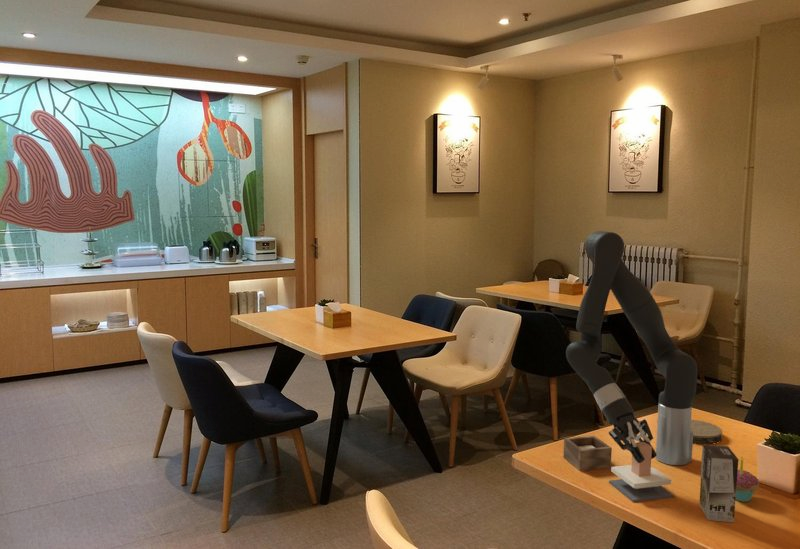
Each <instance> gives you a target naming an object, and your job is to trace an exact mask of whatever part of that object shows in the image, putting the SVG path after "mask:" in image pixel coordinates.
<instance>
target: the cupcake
mask: <svg viewBox="0 0 800 549" xmlns="http://www.w3.org/2000/svg"><path fill="white" fill-rule="evenodd" d="M739 461H740V462H739V469H738V473H737V486H736V500H735V501H737V502H750V501H751V499H752V497H753V495H754V494H755V493H756V491H757V490H759V488H760V481H759V478H757V476H756V475H754V474H752V473H751V472H749V471H746V470H745V469H744V458H740V459H739Z"/></svg>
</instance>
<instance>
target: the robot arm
mask: <svg viewBox="0 0 800 549" xmlns="http://www.w3.org/2000/svg"><path fill="white" fill-rule="evenodd" d="M584 250H585V254H586V256H587V257H588V258H589V261H591V263H592V265H593V270H592V276H591V278H590V282H589V284H588V287H587V288H586V290H585V292H584V294H583V297H582V299H581V302H580V305H579V310H578V314H577V319H576V324H575V325H576V326H575V328H576V331H577V332H578V333H580V339H579V340H580V341H574V342H571V343H569V345H567V347H566V350H565V356H566V360H567V362H568V364H569V366H570V367H571V368H572V369H573V370H574V371H575V373H576V374H577V375H578V376H579V377H580V378H581V379H582V380H583V381H584V382H585V383H586V385H587V387H588V388H589V390H590V392H591V393H592V396H593V397H594V399H595V401H596V403H597V405H598V406H599V409H600V410H601V412H602V414H603V415H604V417H605V419H606V420H607V422H608V424H609V425H613V428H612V429H611V430H610V431H608V435H609V436H610V437H611V438H612V440H613V441H614V442H615V443H616V444H617V445H618V446H619V447H620V449H621V450H623V451H625V450H627V451H629V452H630V453H631V456H632V455H633V457H634V459H635V460H636V461H637V462H638V463H641V462H643V461H644V460H645V458H644V457H643V455H642V453H641V452H640V450H639V448H638V447H636V443H638V442H645V443H647V444H648V445H650V446H652V456H651V460H652V459H656V460H657V461H659V462H661V463H663V464H666V465H671V466H684V465H687V464H689V463H692V462H693V461H692V460H693V445H694V443H693V431H692V430H691V420H692V410H693V407H692V406H693V401H694V399H695V397H696V393H697V383H698V374H699V373H698V371H699V370H698V365H697V364H698V363H697V361H696V360H695V358H694V357H692V355H689V354H687V353H686V352H684V351H682V350H681V349H680V348H679V347H678V346H677V345H676V343H675V342H674V340H673V339H672V337H671V336H670V335H669V332H668V331H667V329H666V325H665V322H664V318H663V314H662V312H661V311H662V310H661V309H660V307H659V305H658V303H657V302H656V300H655V298H654V296H653V295H652V293H651V292H650V290H649V289H648V288H647V287H646V286H645V284H644V283H642V281H641V279H639V278H638V277H637V276H636V275H635V274H634V273H633V272H632V271H631V270H630V269H629V268H628V266H627V265H626V263H625V261H624V260H623V259H622V258H623V255H624V253H625V242H624V239H623V238H622V236H621V235H619V234H618V233H616V232H613V231H604V230H601V231H594V232H591V233H590V234H589V235H588V236H587V238H586V239H585V242H584ZM610 292H612V294H613V296H614V297H615V299H616V301H617V303H618V305H619V306H620V308H621V310H622V312H623V313H624V315H625V316H626V318H627V319H628V321H629V323H630V324H631V325H632V327H633V329H634V330H635V332H636V333H637V335H638V337H640V339H641V340H642V341H643V343H644V344H645V346H646V347H647V350H648V351H649V353H650V355H651V358H652V360H653V362H654V364H655V367H656V370H658V372H659V374H660V375H662V376H663V377H664V378H665V383H664V390H663V391H661V392H659V394H658V405H657V406H658V408H657V427H656V428H657V429H656V442H655V445H656V446H655V449H654V447H653V445H652V444H651V441H652V440H654V437H653V433H652V431H651V429H650V426H649V423H648V421H647V420H646V419H642V420H638V419H637V418H636V417H635V415H634V412H635V411H634V409H633V406H632V405H631V404H630V402H629V401H628V399H627V397H626V395H625V394H624V393H623V391H622V390H621V388H620V387H619V386H618V385H617V383H616V382H615V380H614V378H613V377H612V375H611V374H610V372H609V371H608V370H607V369H606V368H605V367H602V366H601V365H599V364H598V363H597V362H598V360H599V359H600V356H601V351H602V336H601V330H602V329H601V328H602V325H603V321H604V320H603V319H604V315H605V313H606V312H605V310H606V306H607V302H608V298H609V296H610ZM636 441H637V442H636Z"/></svg>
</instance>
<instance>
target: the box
mask: <svg viewBox="0 0 800 549" xmlns="http://www.w3.org/2000/svg"><path fill="white" fill-rule="evenodd" d="M612 449H613V448H612V447H611V446H610V445H608V444H607V443H605V442H604V441H603V440H601V439H600V438H598V437H597V436H595V435H587V436H586V435H585V436H577V437H575V436H574V437H567V438H563V459H564V460H566V461H567V462H568V463H570V465H572V466H574V468H576V469H577V470H578V471H579V472H582V471H590V470H601V469H602V470H603V469H611V467H612Z"/></svg>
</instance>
